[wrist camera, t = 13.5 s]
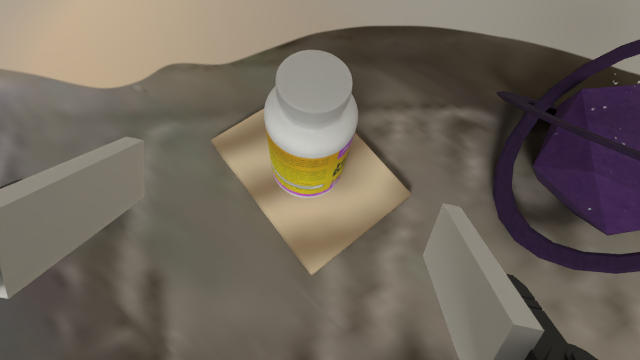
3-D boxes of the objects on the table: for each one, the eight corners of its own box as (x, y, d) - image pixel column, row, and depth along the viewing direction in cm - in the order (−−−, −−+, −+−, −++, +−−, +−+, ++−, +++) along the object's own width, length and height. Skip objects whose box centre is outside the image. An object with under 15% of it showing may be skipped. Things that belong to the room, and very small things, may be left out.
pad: (213, 144, 33) (210, 140, 32) (308, 87, 36) (308, 81, 35) (311, 275, 29) (311, 274, 28) (408, 197, 32) (411, 194, 31)
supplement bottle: (335, 206, 30) (361, 138, 18) (264, 193, 30) (244, 116, 18) (346, 143, 33) (375, 48, 21) (281, 131, 33) (272, 28, 21)
